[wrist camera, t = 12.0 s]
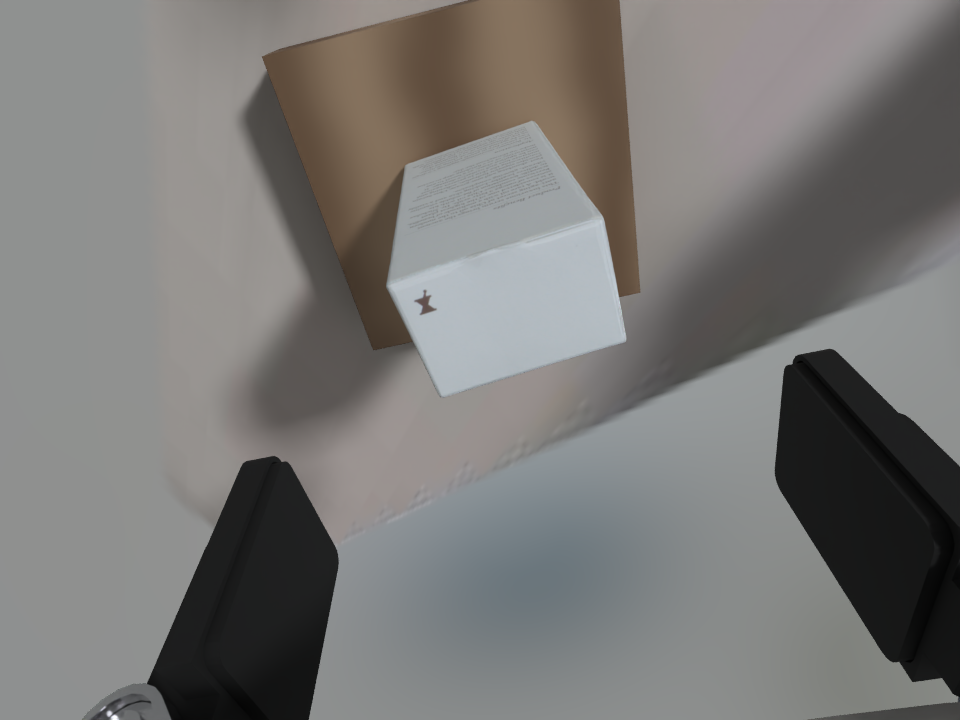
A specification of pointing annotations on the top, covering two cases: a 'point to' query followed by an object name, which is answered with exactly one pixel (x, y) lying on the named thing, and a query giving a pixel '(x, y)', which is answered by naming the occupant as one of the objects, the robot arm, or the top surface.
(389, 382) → the top surface
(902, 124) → the top surface
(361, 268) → the walnut base
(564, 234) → the skincare box
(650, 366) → the top surface
